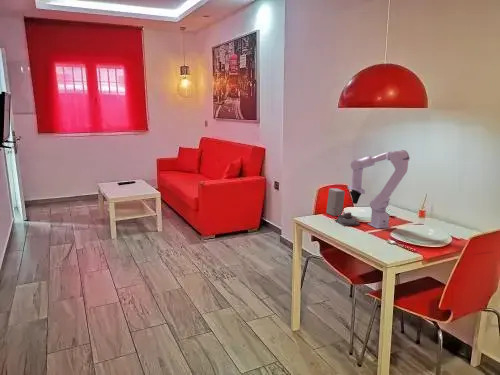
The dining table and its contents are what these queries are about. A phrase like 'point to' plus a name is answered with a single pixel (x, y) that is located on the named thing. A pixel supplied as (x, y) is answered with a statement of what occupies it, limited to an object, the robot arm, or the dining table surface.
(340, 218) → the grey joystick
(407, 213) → the dining table surface
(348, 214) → the cap
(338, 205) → the skincare box
